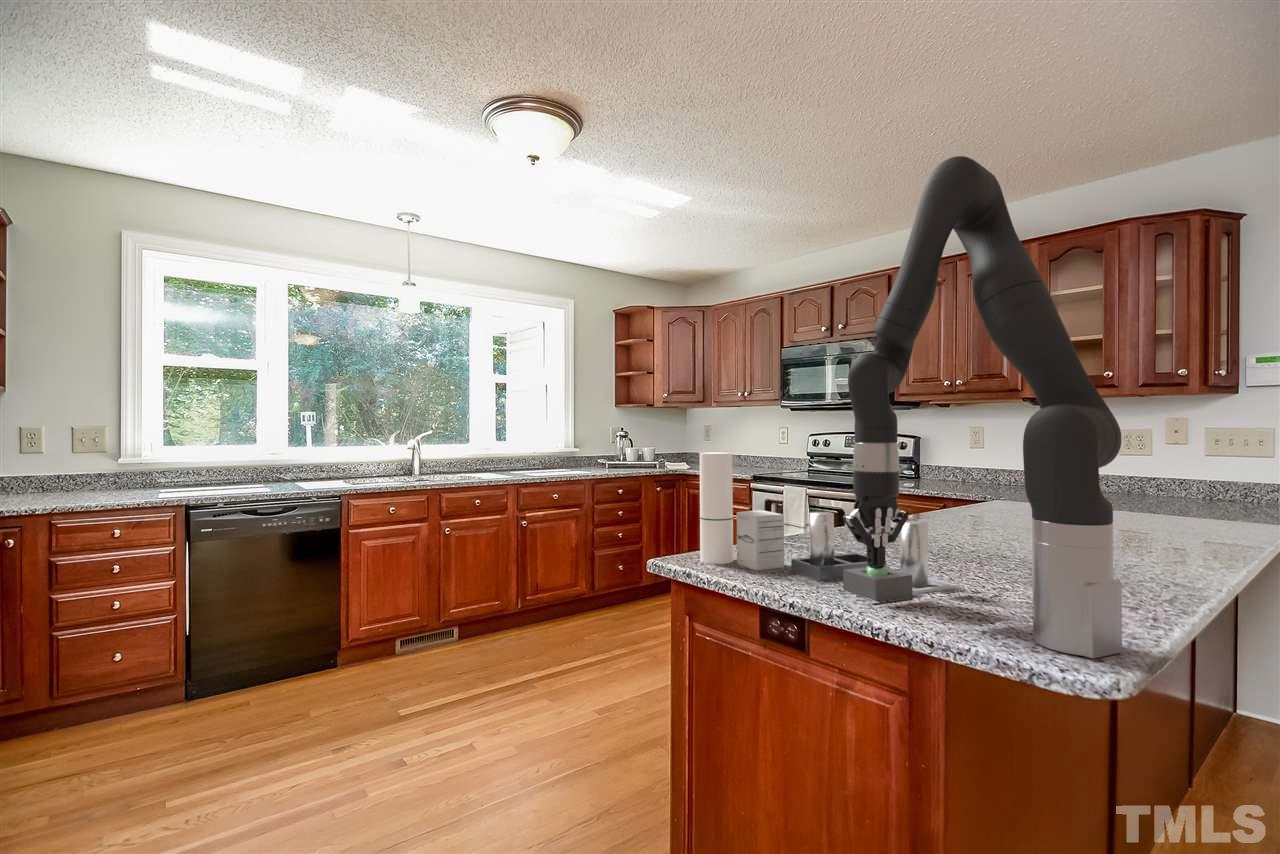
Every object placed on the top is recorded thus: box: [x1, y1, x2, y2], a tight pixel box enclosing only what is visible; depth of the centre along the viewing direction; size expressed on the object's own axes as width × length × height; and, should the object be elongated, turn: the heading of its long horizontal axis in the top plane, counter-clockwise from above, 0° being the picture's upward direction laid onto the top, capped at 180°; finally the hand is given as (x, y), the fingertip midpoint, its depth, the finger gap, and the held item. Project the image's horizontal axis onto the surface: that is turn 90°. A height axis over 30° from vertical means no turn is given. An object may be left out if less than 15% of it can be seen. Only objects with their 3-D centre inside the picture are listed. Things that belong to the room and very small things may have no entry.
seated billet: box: [809, 511, 835, 566], centre depth 123 cm, size 5×5×12 cm
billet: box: [899, 520, 929, 589], centre depth 115 cm, size 5×5×12 cm
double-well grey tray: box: [790, 552, 888, 583], centre depth 125 cm, size 9×16×4 cm, turn 112°
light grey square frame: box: [912, 576, 958, 595], centre depth 115 cm, size 10×10×2 cm
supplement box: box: [736, 509, 785, 571], centre depth 132 cm, size 7×7×13 cm
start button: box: [867, 566, 888, 576], centre depth 109 cm, size 3×3×3 cm
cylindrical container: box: [699, 451, 734, 565], centre depth 137 cm, size 7×7×25 cm
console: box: [842, 567, 914, 606], centre depth 109 cm, size 8×8×5 cm
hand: (876, 567), depth 109 cm, fingers closed
